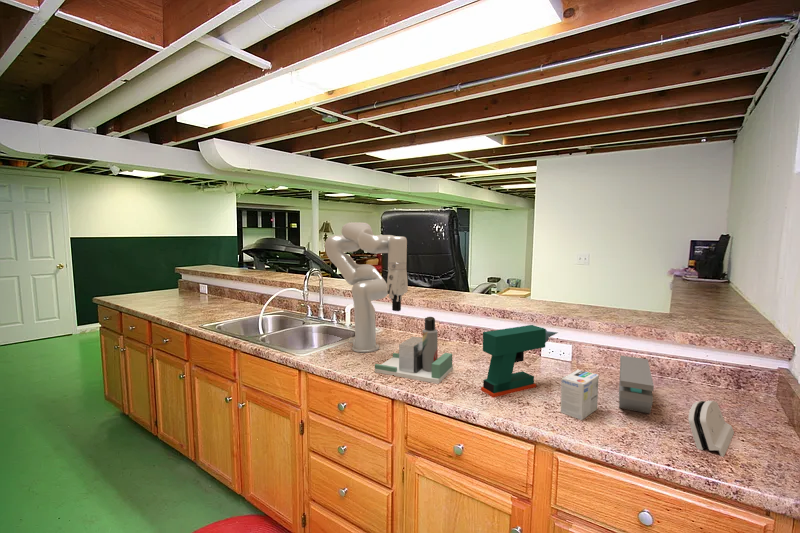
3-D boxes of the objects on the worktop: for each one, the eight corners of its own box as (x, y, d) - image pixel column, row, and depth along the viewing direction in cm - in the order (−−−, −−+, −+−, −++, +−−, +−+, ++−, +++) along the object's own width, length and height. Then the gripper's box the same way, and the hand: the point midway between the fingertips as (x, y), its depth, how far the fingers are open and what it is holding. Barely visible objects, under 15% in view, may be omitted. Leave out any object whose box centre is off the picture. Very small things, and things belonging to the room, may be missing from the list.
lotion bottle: (439, 367, 146) (439, 316, 144) (435, 372, 141) (434, 319, 139) (425, 365, 148) (425, 315, 146) (420, 370, 143) (420, 318, 141)
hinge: (723, 457, 89) (707, 414, 91) (699, 456, 93) (684, 414, 95) (734, 432, 101) (720, 393, 102) (712, 431, 104) (699, 394, 106)
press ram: (399, 370, 143) (399, 344, 142) (412, 360, 154) (412, 336, 153) (416, 373, 140) (416, 346, 139) (428, 363, 151) (428, 338, 150)
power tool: (549, 373, 143) (550, 321, 141) (564, 380, 137) (566, 325, 135) (479, 389, 129) (480, 331, 127) (493, 397, 123) (494, 337, 121)
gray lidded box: (619, 386, 131) (620, 355, 130) (646, 390, 127) (647, 359, 126) (619, 417, 109) (620, 380, 108) (651, 423, 105) (653, 385, 104)
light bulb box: (575, 401, 119) (576, 368, 118) (598, 409, 114) (599, 374, 113) (559, 412, 112) (560, 377, 111) (582, 421, 107) (584, 384, 106)
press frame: (374, 372, 146) (374, 355, 145) (394, 359, 160) (393, 344, 160) (438, 383, 134) (438, 366, 134) (453, 369, 149) (453, 352, 148)
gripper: (396, 269, 147) (395, 315, 149) (413, 265, 160) (412, 308, 162) (379, 267, 151) (379, 313, 153) (398, 264, 164) (397, 306, 166)
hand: (396, 310), depth 157 cm, fingers closed
